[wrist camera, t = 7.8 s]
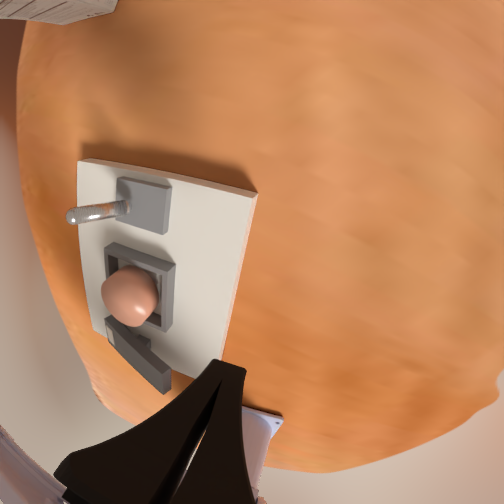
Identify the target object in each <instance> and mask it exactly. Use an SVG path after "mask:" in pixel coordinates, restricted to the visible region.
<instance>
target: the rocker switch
mask: <svg viewBox="0 0 504 504" xmlns="http://www.w3.org/2000/svg"><path fill="white" fill-rule="evenodd" d="M104 321H105V326H106V331H107V336H108V341H109V343H110V344H111V345H112V346H113V347H114V348H115V349H116V350H117V351H118V352H119V353H120V354H121V356H122V357H123V358H124V359H125V360H126V361H127V362H128V363H129V364H130V365H131V366H132V367H133V368H134V369H135V370H136V371H138V372H139V373H140V374H141V375H142V376H143V377H144V378H145V379H146V380H147V381H148V382H149V383H150V384H151V385H153V386H154V387H155V388H156V389H157V390H158V391H159V392H160V393H162V394H163V395H164V394H165V393H167V392H168V391H169V390H171V367H170V366H168V365H167V364H166V363H165V362H164V361H162V360H161V359H160V358H159V357H158V356H157V355H155V354H154V353H153V352H152V351H151V350H150V349H149V348H148V347H146V346H145V345H144V344H143V343H142V342H141V341H140V340H139V339H138V338H137V337H135V336H134V335H133V334H132V333H131V332H130V331H129V330H128V329H127V328H126V327H125V326H124V325H123V324H122V323H121V322H120V321H118V320H117V319H116V318H115V317H114V316H113V315H110V316H108V317H106V318H104Z"/></svg>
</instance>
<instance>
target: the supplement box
mask: <svg viewBox="0 0 504 504" xmlns="http://www.w3.org/2000/svg"><path fill="white" fill-rule="evenodd" d="M117 2H118V0H0V19H1V18H3V19H21V20H31V21H39V22H46V23H52V24H59V25H66V24H70V23H73V22H77V21H80V20H84V19H87V18H91V17H96V16H99V15H104V14H108V13H112V12H113V11H114V9H115V7H116V4H117Z"/></svg>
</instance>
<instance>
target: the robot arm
mask: <svg viewBox="0 0 504 504" xmlns="http://www.w3.org/2000/svg"><path fill="white" fill-rule="evenodd" d="M246 372H247V371H246V369H245V368H242V367H239V366H236V365H233V364H230V363H227V362H224V361H221V360H218V359H212V360H211V362H210V363H209V364H208V366H207V367H206V368H205V369H204V370H203V372H202V373H201V374H200V375H199V376H198V377H197V378H196V379H195V380H194V381H193V382H192V383H191V384H190V385H189V386H188V387H187V388H186V389H185V390H184V391H183V392H182V393H181V394H179V395H178V396H177V397H176V398H175V399H174V400H172V401H171V402H170V403H169V404H167V405H166V406H165V407H164V408H162V409H161V410H160V411H158V412H157V413H156V414H154V415H153V416H151V417H150V418H148V419H147V420H145V421H143V422H142V423H140V424H138V425H137V426H135V427H133V428H131V429H130V430H128V431H126V432H124V433H122V434H120V435H118V436H116V437H113V438H111V439H109V440H107V441H104V442H102V443H100V444H97V445H94V446H91V447H88V448H85V449H81V450H78V451H75V452H72V453H70V454H69V455H68V456H67V457H66V458H65V459H64V460H63V461H62V462H61V463H60V465H59V466H58V468H57V469H56V471H55V472H54V474H53V475H54V477H55V478H56V479H57V480H58V481H59V482H58V481H57V480H56V479H55V478H53V477H52V476H51V475H50V474H49V473H47V472H46V471H45V470H44V469H43V468H41V467H40V466H39V465H38V464H37V463H36V462H35V461H34V460H33V459H31V458H30V457H29V456H28V455H27V454H26V453H25V452H24V451H23V450H22V449H21V448H20V447H19V446H18V445H17V444H16V443H15V442H14V439H13V438H12V437H11V436H10V435H9V434H8V433H7V432H6V430H5V429H4V428H3V427H2V426H1V425H0V499H1V501H2V502H3V503H4V504H64V503H63V501H64V502H66V503H67V504H267V503H266V501H265V500H264V498H263V497H259V496H258V497H257V495H258V492H259V490H258V489H257V487H258V483H259V480H260V477H261V473H262V469H263V466H264V462H265V458H266V454H267V450H268V446H269V442H270V439H271V438H272V437H273V435H274V434H275V433H276V431H277V430H278V429H279V427H280V426H281V424H282V423H283V421H284V418H283V417H281V416H277V415H273V414H269V413H265V412H261V411H258V410H254V409H251V408H248V407H244V406H242V396H243V386H244V380H245V376H246ZM205 430H206V432H205ZM204 432H205V434H204ZM203 434H204V436H203ZM202 436H203V438H202ZM201 438H202V440H201ZM200 440H201V442H200V445H199V447H198V449H197V451H196V453H195V455H194V457H193V459H192V461H191V463H190V466H189V468H188V470H186V468H187V466H188V463H189V461H190V458H191V457H192V455H193V453H194V451H195V449H196V447H197V445H198V443H199V441H200ZM60 482H61V483H62V484H63V485H62V484H61V483H60ZM65 486H66V487H67V488H66V487H65Z"/></svg>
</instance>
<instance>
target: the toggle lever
mask: <svg viewBox="0 0 504 504" xmlns="http://www.w3.org/2000/svg"><path fill="white" fill-rule="evenodd" d="M131 211H132V205H131V203H130V202H129V201H128V200H119V201H112V202H105V203H98V204H92V205H86V206H80V207H74V208H70V209H69V210H68V211H67V213H66V220H67V222H68V223H69V224H71V225H76V224H82V223H87V222H92V221H98V220H104V219H109V218H115V217H121V216H126V215H129V214H130V212H131Z"/></svg>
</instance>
